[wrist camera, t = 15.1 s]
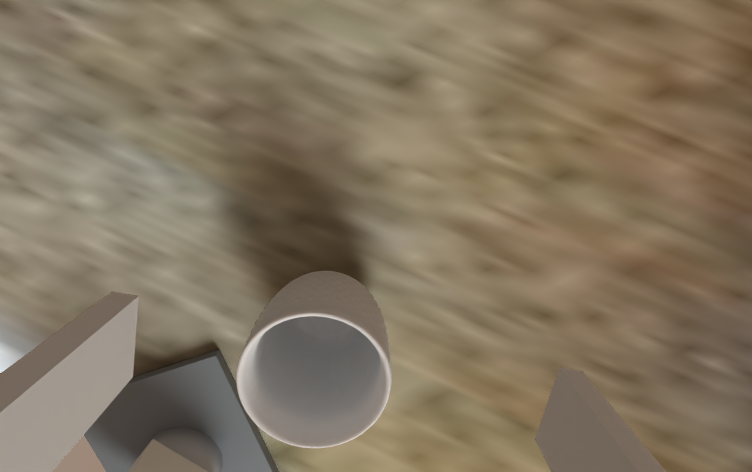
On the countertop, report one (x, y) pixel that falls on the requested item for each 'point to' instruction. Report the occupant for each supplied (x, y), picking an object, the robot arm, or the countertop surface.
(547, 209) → the countertop surface
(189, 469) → the cream cube block
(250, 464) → the post base
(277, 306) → the mug
